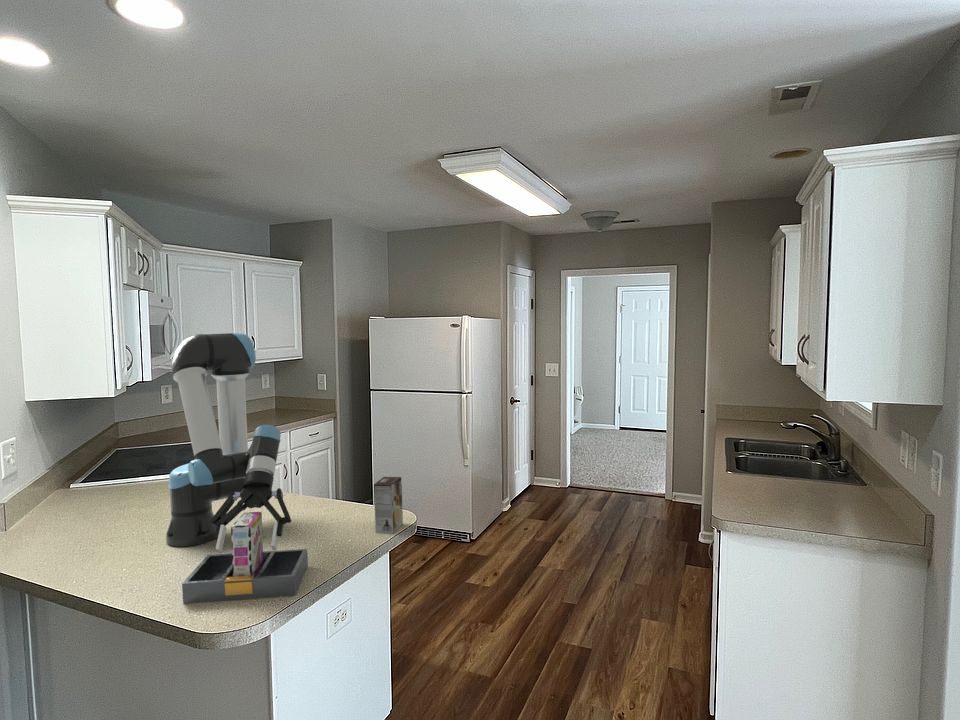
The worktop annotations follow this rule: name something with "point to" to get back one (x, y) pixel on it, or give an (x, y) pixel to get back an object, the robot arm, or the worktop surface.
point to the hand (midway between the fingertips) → (246, 549)
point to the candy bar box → (247, 544)
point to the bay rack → (246, 578)
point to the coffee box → (388, 504)
